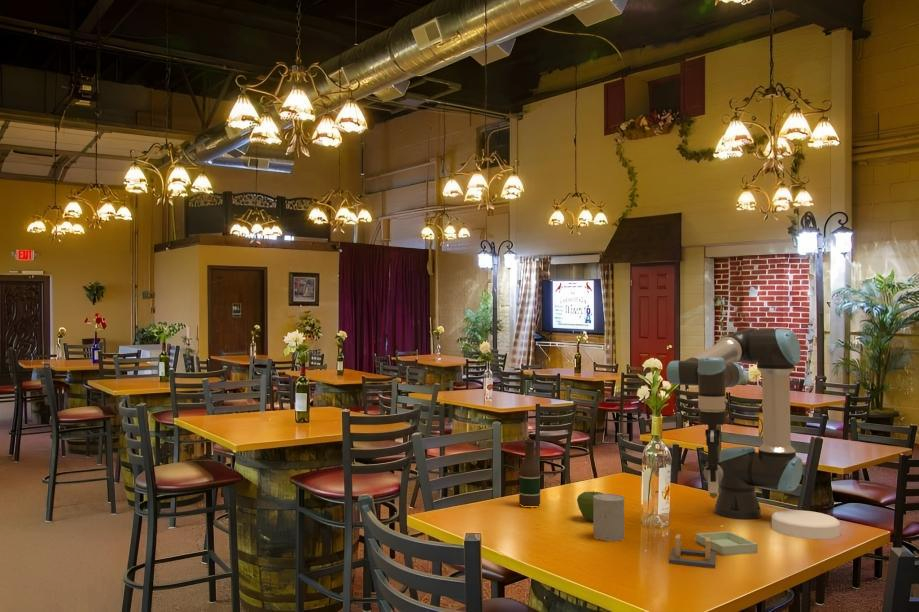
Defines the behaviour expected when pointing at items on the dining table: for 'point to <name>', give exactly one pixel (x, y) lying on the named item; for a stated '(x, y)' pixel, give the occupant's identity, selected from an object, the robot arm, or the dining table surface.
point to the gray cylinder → (608, 517)
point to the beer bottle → (529, 477)
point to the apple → (587, 504)
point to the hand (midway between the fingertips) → (713, 490)
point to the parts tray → (727, 543)
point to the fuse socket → (678, 552)
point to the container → (805, 524)
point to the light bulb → (720, 476)
